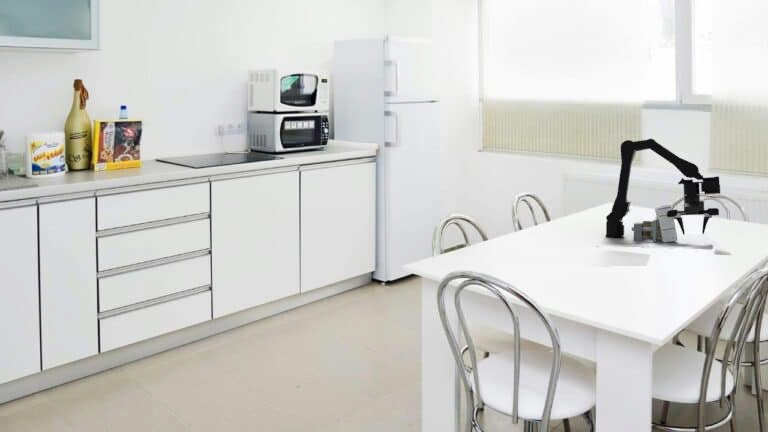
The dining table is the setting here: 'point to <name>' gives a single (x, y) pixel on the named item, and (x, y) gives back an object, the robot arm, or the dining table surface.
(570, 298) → the dining table surface
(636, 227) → the gauge housing
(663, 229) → the syrup box
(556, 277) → the dining table surface
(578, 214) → the dining table surface
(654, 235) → the gauge plunger
